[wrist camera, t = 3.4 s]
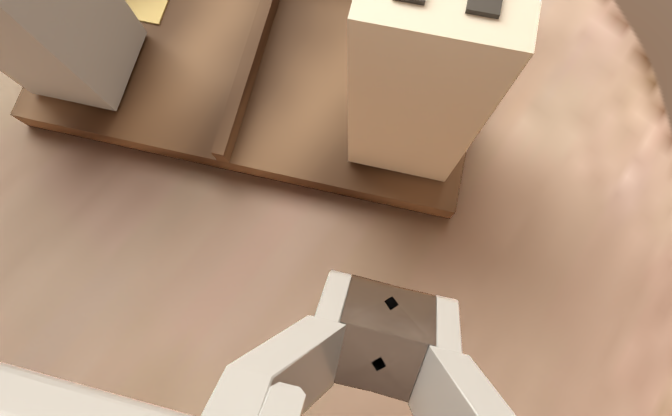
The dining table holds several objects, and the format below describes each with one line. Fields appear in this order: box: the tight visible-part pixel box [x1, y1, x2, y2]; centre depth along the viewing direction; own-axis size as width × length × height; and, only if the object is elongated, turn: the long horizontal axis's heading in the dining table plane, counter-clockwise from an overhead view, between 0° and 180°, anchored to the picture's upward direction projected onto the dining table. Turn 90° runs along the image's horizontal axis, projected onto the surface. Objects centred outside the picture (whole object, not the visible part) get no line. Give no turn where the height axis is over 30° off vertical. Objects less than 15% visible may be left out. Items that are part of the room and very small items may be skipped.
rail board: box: [10, 0, 466, 219], centre depth 22 cm, size 22×12×4 cm, turn 77°
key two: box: [347, 0, 542, 182], centre depth 16 cm, size 4×5×10 cm
